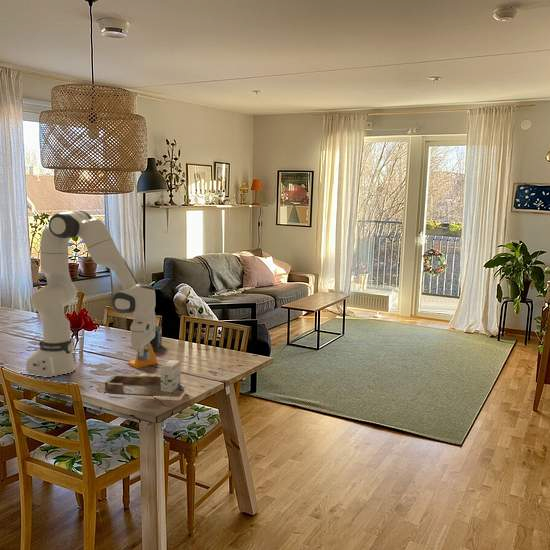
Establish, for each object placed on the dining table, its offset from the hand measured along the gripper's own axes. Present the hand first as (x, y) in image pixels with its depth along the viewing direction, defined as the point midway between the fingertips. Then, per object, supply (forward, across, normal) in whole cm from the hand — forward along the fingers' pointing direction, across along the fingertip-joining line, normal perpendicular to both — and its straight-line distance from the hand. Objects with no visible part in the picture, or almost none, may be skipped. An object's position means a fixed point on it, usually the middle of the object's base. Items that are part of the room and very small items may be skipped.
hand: (143, 353), depth 232 cm
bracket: (+12, -16, -6) cm, 21 cm away
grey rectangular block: (+2, 0, 0) cm, 2 cm away
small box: (+12, -45, -10) cm, 47 cm away
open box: (+11, +13, 0) cm, 17 cm away
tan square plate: (+11, 0, +1) cm, 11 cm away
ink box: (+11, +12, +15) cm, 22 cm away
